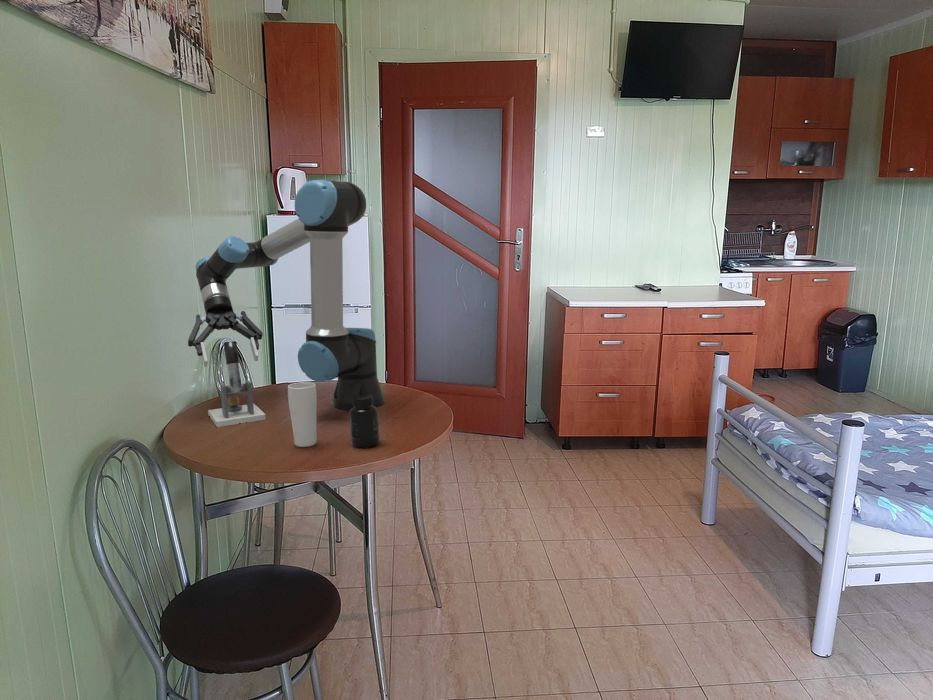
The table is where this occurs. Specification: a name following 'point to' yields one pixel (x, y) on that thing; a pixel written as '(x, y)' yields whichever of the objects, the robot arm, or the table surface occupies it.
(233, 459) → the table surface
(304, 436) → the drinking glass
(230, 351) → the lever
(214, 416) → the nutcracker base
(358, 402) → the supplement bottle
